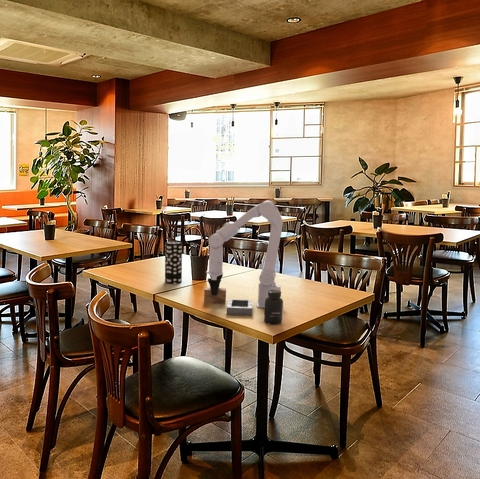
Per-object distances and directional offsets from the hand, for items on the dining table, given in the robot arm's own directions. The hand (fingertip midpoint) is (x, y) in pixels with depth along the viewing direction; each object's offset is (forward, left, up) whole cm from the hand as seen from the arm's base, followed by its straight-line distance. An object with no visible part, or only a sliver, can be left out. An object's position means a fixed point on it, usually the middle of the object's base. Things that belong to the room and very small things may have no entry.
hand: (215, 292), depth 199 cm
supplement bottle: (-24, +24, -4) cm, 34 cm away
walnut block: (0, 0, -4) cm, 4 cm away
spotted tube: (+24, -34, -4) cm, 42 cm away
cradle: (-11, +11, -4) cm, 16 cm away
